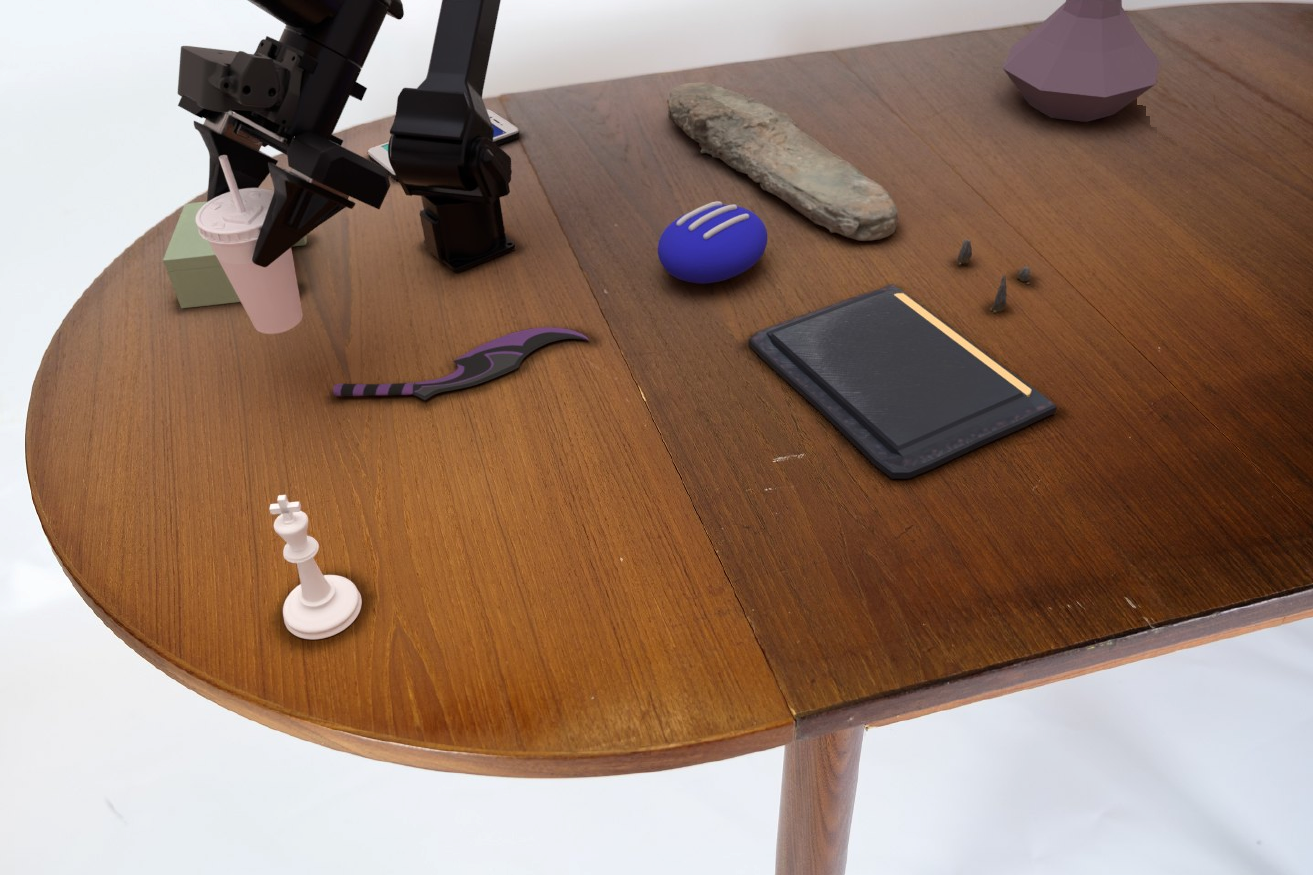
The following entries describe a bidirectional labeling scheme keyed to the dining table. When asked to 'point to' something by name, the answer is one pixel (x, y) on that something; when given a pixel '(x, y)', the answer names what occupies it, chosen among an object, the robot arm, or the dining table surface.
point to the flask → (1082, 62)
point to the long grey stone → (783, 160)
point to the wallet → (899, 381)
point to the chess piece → (312, 581)
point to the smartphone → (501, 134)
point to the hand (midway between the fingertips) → (234, 249)
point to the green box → (197, 265)
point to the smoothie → (250, 255)
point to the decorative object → (712, 243)
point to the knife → (471, 365)
